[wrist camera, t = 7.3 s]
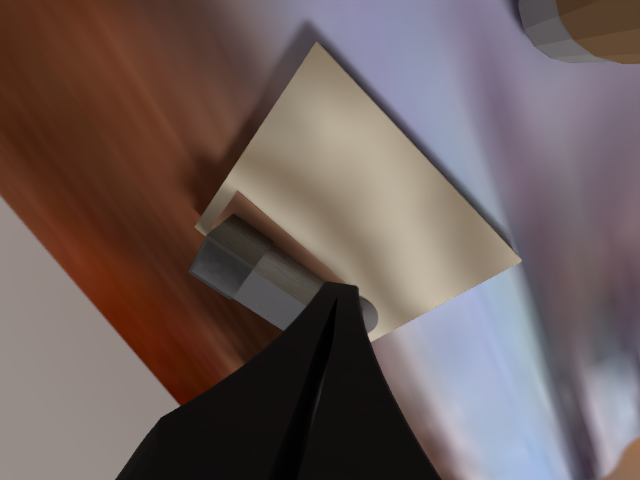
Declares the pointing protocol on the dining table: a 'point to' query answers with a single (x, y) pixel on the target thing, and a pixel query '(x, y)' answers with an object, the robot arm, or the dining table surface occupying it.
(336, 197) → the board
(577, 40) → the coffee cup
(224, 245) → the leg
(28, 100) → the dining table surface
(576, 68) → the dining table surface
